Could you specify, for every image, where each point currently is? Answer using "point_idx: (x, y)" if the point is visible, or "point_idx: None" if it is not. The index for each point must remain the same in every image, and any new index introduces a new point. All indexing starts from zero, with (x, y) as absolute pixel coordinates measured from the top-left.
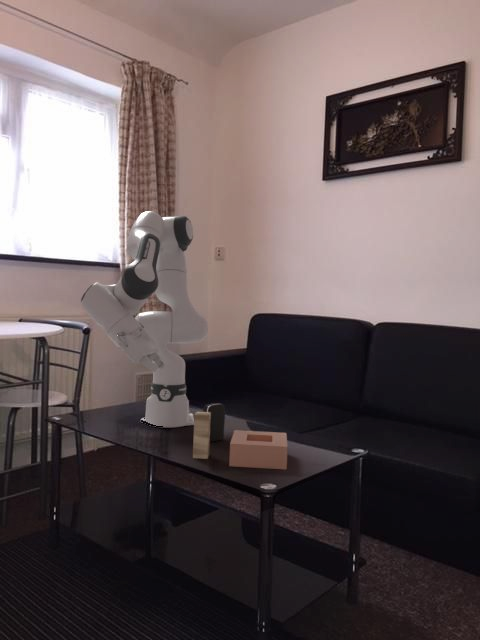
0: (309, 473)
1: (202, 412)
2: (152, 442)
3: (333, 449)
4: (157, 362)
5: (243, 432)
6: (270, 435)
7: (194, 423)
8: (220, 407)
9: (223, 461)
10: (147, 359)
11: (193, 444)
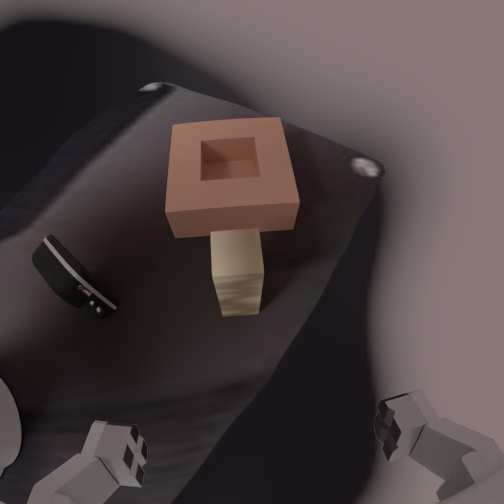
0: (283, 122)
1: (220, 255)
2: (147, 443)
3: (145, 105)
4: (106, 483)
5: (184, 190)
6: (200, 143)
7: (262, 282)
8: (59, 243)
9: (263, 245)
10: (491, 444)
11: (259, 303)
